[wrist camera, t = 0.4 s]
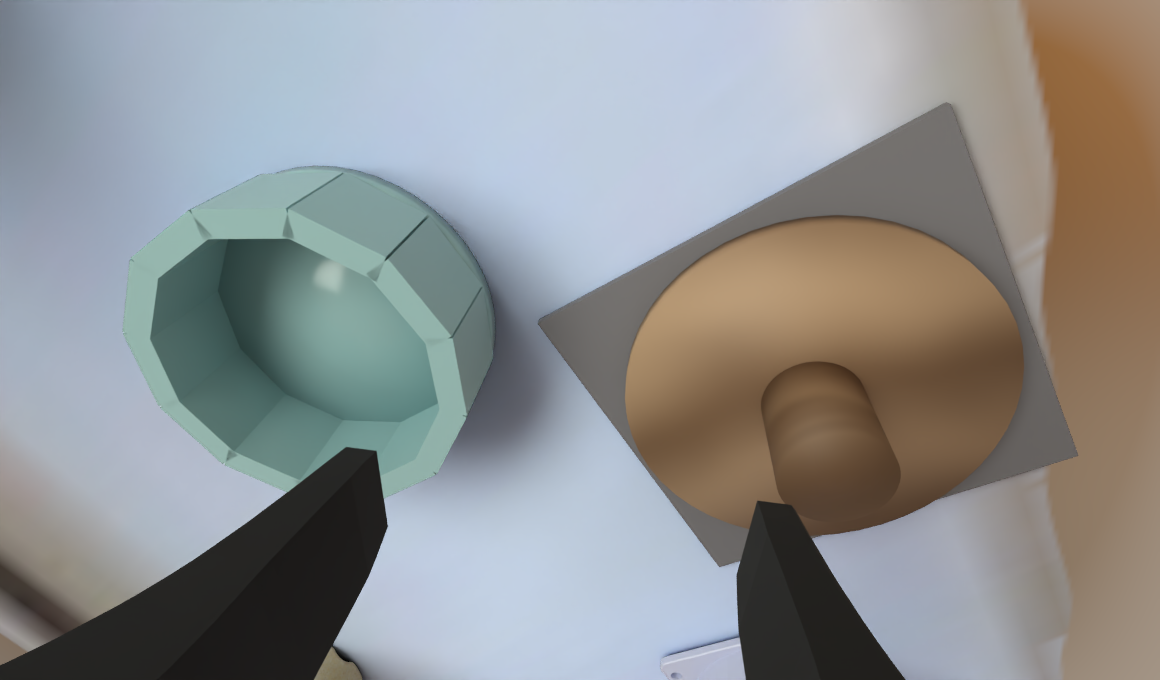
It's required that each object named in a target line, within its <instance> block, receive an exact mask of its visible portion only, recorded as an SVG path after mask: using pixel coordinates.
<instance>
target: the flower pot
mask: <svg viewBox="0 0 1160 680" xmlns="http://www.w3.org/2000/svg"><path fill="white" fill-rule="evenodd" d="M314 680H362V676H361V674H360V672H359V670H358V668H357V667H356V665H355V664H354V663H353V662H345V661H343V660H342V659H341V658H340V657H339V656H338V655H337V654H336V652H335V650H334V648H333V647H331V649H330V651H329V652H328V654H327V656H326V658H325V660H324V662H323V664H322V666H321V667H320V669H319V671H318V673H317V675H316V677H315V679H314Z"/></svg>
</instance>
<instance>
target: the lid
mask: <svg viewBox="0 0 1160 680" xmlns="http://www.w3.org/2000/svg"><path fill="white" fill-rule="evenodd" d="M1023 374H1024V357H1023V345H1022V341H1021V337H1020V333H1019V330H1018V326H1017V323H1016V321H1015V319H1014V317H1013V315H1012V313H1011V310H1010V308H1009V306H1008V304H1007V302H1006V301H1005V300H1004V298H1003V297H1002V296H1001V294H1000V293H999V292H998V290H997V289H996V288H995V286H994V285H993V284H992V283H991V282H990V281H989V280H988V279H987V278H986V277H985V276H984V275H983V274H982V273H981V272H980V271H979V270H978V269H977V268H976V267H975V266H974V265H973V264H972V263H971V262H970V261H969V260H968V259H967V258H966V257H965V256H963V255H962V254H961V253H959V252H958V251H956V250H955V249H953V248H952V247H950V246H949V245H947V244H946V243H944V242H943V241H941V240H939V239H937V238H935V237H933V236H931V235H929V234H927V233H924V232H922V231H920V230H918V229H915V228H912V227H909V226H905V225H902V224H899V223H896V222H893V221H887V220H882V219H876V218H870V217H865V216H845V215H829V216H815V217H804V218H799V219H794V220H788V221H783V222H778V223H775V224H771V225H768V226H765V227H762V228H759V229H756V230H752V231H750V232H747V233H745V234H743V235H741V236H738V237H736V238H734V239H732V240H729V241H727V242H725V243H723V244H722V245H720V246H718V247H717V248H715V249H713V250H711V251H710V252H708V253H706V254H705V255H703V256H702V257H700V258H699V259H698V260H696V261H695V262H694V263H692V264H691V265H690V266H689V267H687V268H686V269H685V270H683V271H682V272H681V273H680V274H679V275H678V276H677V277H676V278H675V279H674V280H673V281H672V282H671V283H670V284H669V285H668V286H667V287H666V288H665V289H664V290H663V292H662V293H661V294H660V295H659V297H658V298H657V299H656V301H655V302H654V303H653V305H652V306H651V307H650V309H649V311H648V312H647V314H646V316H645V318H644V319H643V321H642V323H641V325H640V327H639V329H638V331H637V334H636V337H635V339H634V342H633V345H632V347H631V352H630V357H629V361H628V366H627V375H626V388H625V404H626V413H627V419H628V423H629V427H630V430H631V434H632V437H633V439H634V441H635V444H636V446H637V448H638V450H639V452H640V454H641V456H642V457H643V459H644V460H645V462H646V463H647V465H648V466H649V468H650V469H651V470H652V471H653V473H654V474H655V475H656V476H657V477H658V478H659V480H660V481H661V482H662V483H663V484H664V485H665V486H667V487H668V488H669V489H670V490H671V491H672V492H673V493H674V494H675V495H677V496H678V497H680V498H681V499H683V500H684V501H685V502H687V503H688V504H690V505H691V506H693V507H695V508H696V509H698V510H700V511H702V512H704V513H706V514H708V515H710V516H712V517H714V518H717V519H719V520H722V521H724V522H727V523H729V524H733V525H736V526H739V527H743V528H746V529H749V528H750V525H751V521H752V517H753V514H754V510H755V507H756V503H757V501H765V502H773V503H780V504H788V505H792V506H793V508H794V509H795V510H796V512H797V514H798V515H799V517H800V519H801V521H802V523H803V524H804V526H805V528H806V530H807V531H808V533H809V535H810V536H815V535H828V534H838V533H844V532H850V531H856V530H861V529H865V528H869V527H873V526H877V525H881V524H884V523H886V522H889V521H892V520H895V519H898V518H900V517H903V516H905V515H908V514H910V513H912V512H914V511H916V510H918V509H920V508H923V507H925V506H926V505H928V504H930V503H931V502H933V501H935V500H937V499H938V498H940V497H942V496H943V495H945V494H946V493H948V492H949V491H950V490H952V489H953V488H954V487H956V486H957V485H959V484H960V483H961V482H963V481H964V480H965V479H966V478H967V477H968V476H969V475H970V474H971V473H972V472H974V471H975V470H976V469H977V468H978V467H979V466H980V465H981V464H982V463H983V461H984V460H985V459H986V458H987V457H988V456H989V454H990V453H991V452H992V451H993V450H994V448H995V447H996V446H997V444H998V442H999V441H1000V439H1001V438H1002V436H1003V435H1004V433H1005V432H1006V430H1007V428H1008V426H1009V424H1010V422H1011V419H1012V417H1013V415H1014V413H1015V411H1016V408H1017V404H1018V401H1019V397H1020V394H1021V390H1022V384H1023Z"/></svg>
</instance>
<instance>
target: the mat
mask: <svg viewBox="0 0 1160 680" xmlns="http://www.w3.org/2000/svg"><path fill="white" fill-rule="evenodd" d="M829 215H845V216H865V217H870V218H876V219H882V220H887V221H893V222H896V223H899V224H902V225H905V226H909V227H912V228H915V229H918V230H920V231H922V232H924V233H927V234H929V235H931V236H933V237H935V238H937V239H939V240H941V241H943V242H944V243H946V244H947V245H949V246H950V247H952V248H953V249H955V250H956V251H958V252H959V253H961V254H962V255H963V256H965V257H966V258H967V259H968V260H969V261H970V262H971V263H972V264H973V265H974V266H975V267H976V268H977V269H978V270H979V271H980V272H981V273H982V274H983V275H984V276H985V277H986V278H987V279H988V280H989V281H990V282H991V283H992V284H993V285H994V286H995V288H996V289H997V290H998V292H999V293H1000V294H1001V296H1002V297H1003V298H1004V300H1005V301H1006V302H1007V304H1008V306H1009V308H1010V310H1011V313H1012V315H1013V317H1014V319H1015V321H1016V323H1017V326H1018V330H1019V333H1020V337H1021V341H1022V345H1023V357H1024V374H1023V384H1022V390H1021V394H1020V397H1019V401H1018V404H1017V408H1016V411H1015V413H1014V415H1013V417H1012V419H1011V422H1010V424H1009V426H1008V428H1007V430H1006V432H1005V433H1004V435H1003V436H1002V438H1001V439H1000V441H999V442H998V444H997V446H996V447H995V448H994V450H993V451H992V452H991V453H990V454H989V456H988V457H987V458H986V459H985V460H984V461H983V463H982V464H981V465H980V466H979V467H978V468H977V469H976V470H975V471H974V472H972V473H971V474H970V475H969V476H968V477H967V478H966V479H965V480H964V481H963V482H961V483H960V484H959V485H957V486H956V487H954V488H953V489H952V490H950V491H949V492H948V493H946V494H945V495H943V496H942V497H940V498H938V499H941V498H944V497H947V496H950V495H953V494H957V493H960V492H963V491H966V490H970V489H973V488H976V487H979V486H982V485H986V484H989V483H992V482H995V481H999V480H1002V479H1005V478H1008V477H1011V476H1015V475H1018V474H1021V473H1024V472H1028V471H1031V470H1034V469H1037V468H1040V467H1044V466H1047V465H1050V464H1053V463H1057V462H1060V461H1063V460H1066V459H1069V458H1073V457H1076V456H1078V453H1077V450H1076V448H1075V445H1074V442H1073V439H1072V437H1071V434H1070V431H1069V428H1068V426H1067V423H1066V420H1065V418H1064V415H1063V412H1062V409H1061V406H1060V404H1059V401H1058V398H1057V395H1056V393H1055V390H1054V387H1053V384H1052V382H1051V379H1050V376H1049V373H1048V371H1047V368H1046V365H1045V362H1044V360H1043V357H1042V354H1041V351H1040V349H1039V346H1038V343H1037V340H1036V338H1035V335H1034V332H1033V329H1032V327H1031V324H1030V321H1029V318H1028V316H1027V313H1026V310H1025V307H1024V305H1023V302H1022V299H1021V296H1020V294H1019V291H1018V288H1017V285H1016V283H1015V280H1014V277H1013V274H1012V272H1011V269H1010V266H1009V263H1008V261H1007V258H1006V255H1005V252H1004V250H1003V247H1002V244H1001V241H1000V239H999V236H998V233H997V230H996V228H995V225H994V222H993V219H992V217H991V214H990V211H989V208H988V206H987V203H986V200H985V197H984V195H983V192H982V189H981V186H980V184H979V181H978V178H977V175H976V173H975V170H974V167H973V164H972V162H971V159H970V156H969V153H968V151H967V148H966V145H965V142H964V140H963V137H962V134H961V131H960V129H959V126H958V123H957V120H956V118H955V115H954V112H953V109H952V107H951V104H949V103H947V102H946V103H944V104H942V105H940V106H938V107H937V108H935V109H933V110H931V111H929V112H927V113H925V114H923V115H922V116H920V117H918V118H916V119H914V120H912V121H910V122H908V123H907V124H905V125H903V126H901V127H899V128H897V129H895V130H893V131H892V132H890V133H888V134H886V135H884V136H882V137H880V138H878V139H877V140H875V141H873V142H871V143H869V144H867V145H865V146H863V147H862V148H860V149H858V150H856V151H854V152H852V153H850V154H848V155H847V156H845V157H843V158H841V159H839V160H837V161H835V162H833V163H832V164H830V165H828V166H826V167H824V168H822V169H820V170H818V171H817V172H815V173H813V174H811V175H809V176H807V177H805V178H804V179H802V180H800V181H798V182H796V183H794V184H792V185H790V186H789V187H787V188H785V189H783V190H781V191H779V192H777V193H775V194H774V195H772V196H770V197H768V198H766V199H764V200H762V201H760V202H759V203H757V204H755V205H753V206H751V207H749V208H747V209H745V210H744V211H742V212H740V213H738V214H736V215H734V216H732V217H730V218H729V219H727V220H725V221H723V222H721V223H719V224H717V225H715V226H714V227H712V228H710V229H708V230H706V231H704V232H702V233H700V234H699V235H697V236H695V237H693V238H691V239H689V240H687V241H685V242H684V243H682V244H680V245H678V246H676V247H674V248H672V249H670V250H669V251H667V252H665V253H663V254H661V255H659V256H657V257H656V258H654V259H652V260H650V261H648V262H646V263H644V264H642V265H641V266H639V267H637V268H635V269H633V270H631V271H629V272H627V273H626V274H624V275H622V276H620V277H618V278H616V279H614V280H612V281H611V282H609V283H607V284H605V285H603V286H601V287H599V288H597V289H596V290H594V291H592V292H590V293H588V294H586V295H584V296H582V297H581V298H579V299H577V300H575V301H573V302H571V303H569V304H567V305H566V306H564V307H562V308H560V309H558V310H556V311H554V312H552V313H551V314H549V315H547V316H545V317H543V318H541V319H539V322H538V325H539V326H540V327H541V329H542V330H543V331H544V333H545V334H546V336H547V337H548V338H549V340H550V341H551V342H552V344H553V345H554V346H555V348H556V349H557V350H558V352H559V353H560V354H561V356H562V357H563V358H564V360H565V361H566V362H567V364H568V365H569V366H570V368H571V369H572V370H573V372H574V373H575V374H576V376H577V377H578V378H579V380H580V381H581V382H582V384H583V385H584V386H585V388H586V389H587V390H588V392H589V393H590V394H591V396H592V397H593V398H594V400H595V401H596V402H597V404H598V405H599V407H600V408H601V409H602V411H603V412H604V413H605V415H606V416H607V417H608V419H609V420H610V421H611V423H612V424H613V425H614V427H615V428H616V429H617V431H618V432H619V433H620V435H621V436H622V437H623V439H624V440H625V441H626V443H627V444H628V445H629V447H630V448H631V449H632V451H633V452H634V453H635V455H636V456H637V457H638V459H639V460H640V461H641V463H642V464H643V465H644V467H645V468H646V469H647V471H648V472H649V473H650V475H651V476H652V478H653V479H654V480H655V482H656V483H657V484H658V486H659V487H660V488H661V490H662V491H663V492H664V494H665V495H666V496H667V498H668V499H669V500H670V502H671V503H672V504H673V506H674V507H675V508H676V510H677V511H678V512H679V514H680V515H681V516H682V518H683V519H684V520H685V522H686V523H687V524H688V526H689V527H690V528H691V530H692V531H693V532H694V534H695V535H696V536H697V538H698V539H699V540H700V542H701V543H702V544H703V546H704V547H705V548H706V550H707V551H708V553H709V554H710V555H711V557H712V558H713V559H714V561H715V562H716V563H717V565H718V566H719V567H721V566H725V565H728V564H731V563H734V562H738V561H741V558H742V554H743V550H744V547H745V543H746V539H747V536H748V532H749V529H746V528H743V527H739V526H736V525H733V524H729V523H727V522H724V521H722V520H719V519H717V518H714V517H712V516H710V515H708V514H706V513H704V512H702V511H700V510H698V509H696V508H695V507H693V506H691V505H690V504H688V503H687V502H685V501H684V500H683V499H681V498H680V497H678V496H677V495H675V494H674V493H673V492H672V491H671V490H670V489H669V488H668V487H667V486H665V485H664V484H663V483H662V482H661V481H660V480H659V478H658V477H657V476H656V475H655V474H654V473H653V471H652V470H651V469H650V468H649V466H648V465H647V463H646V462H645V460H644V459H643V457H642V456H641V454H640V452H639V450H638V448H637V446H636V444H635V441H634V439H633V437H632V434H631V430H630V427H629V423H628V419H627V413H626V404H625V388H626V375H627V366H628V361H629V357H630V352H631V347H632V345H633V342H634V339H635V337H636V334H637V331H638V329H639V327H640V325H641V323H642V321H643V319H644V318H645V316H646V314H647V312H648V311H649V309H650V307H651V306H652V305H653V303H654V302H655V301H656V299H657V298H658V297H659V295H660V294H661V293H662V292H663V290H664V289H665V288H666V287H667V286H668V285H669V284H670V283H671V282H672V281H673V280H674V279H675V278H676V277H677V276H678V275H679V274H680V273H681V272H682V271H683V270H685V269H686V268H687V267H689V266H690V265H691V264H692V263H694V262H695V261H696V260H698V259H699V258H700V257H702V256H703V255H705V254H706V253H708V252H710V251H711V250H713V249H715V248H717V247H718V246H720V245H722V244H723V243H725V242H727V241H729V240H732V239H734V238H736V237H738V236H741V235H743V234H745V233H747V232H750V231H752V230H756V229H759V228H762V227H765V226H768V225H771V224H775V223H778V222H783V221H788V220H794V219H799V218H804V217H815V216H829ZM818 536H821V535H815V536H810V537H811V538H815V537H818Z"/></svg>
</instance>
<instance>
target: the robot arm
mask: <svg viewBox="0 0 1160 680" xmlns="http://www.w3.org/2000/svg"><path fill="white" fill-rule="evenodd" d="M387 527H388V525H387V518H386V511H385V504H384V498H383V491H382V484H381V477H380V470H379V463H378V457H377V451H374V450H367V449H359V448H352V447H345V448H344V449H343V450H341V451H340V452H339V453H337V454H336V455H335V456H334V457H332V458H331V459H330V460H328V461H327V462H326V463H324V464H323V465H322V466H321V467H319V468H318V469H317V470H315V471H314V472H313V473H312V474H310V475H309V476H308V477H306V478H305V479H304V480H303V481H301V482H300V483H299V484H297V485H296V486H295V487H294V488H292V489H291V490H290V491H288V492H287V493H286V494H285V495H283V496H282V497H281V498H279V499H278V500H277V501H275V502H274V503H273V504H271V505H270V506H269V507H267V508H266V509H265V510H263V511H262V512H261V513H259V514H258V515H257V516H255V517H254V518H253V519H251V520H250V521H249V522H247V523H246V524H245V525H243V526H242V527H240V528H239V529H237V530H236V531H235V532H233V533H232V534H230V535H229V536H227V537H226V538H224V539H223V540H222V541H220V542H219V543H217V544H216V545H214V546H213V547H212V548H210V549H209V550H207V551H206V552H204V553H203V554H201V555H200V556H199V557H197V558H196V559H194V560H193V561H191V562H189V563H188V564H186V565H185V566H183V567H182V568H180V569H179V570H177V571H175V572H174V573H172V574H171V575H169V576H167V577H166V578H164V579H162V580H161V581H159V582H157V583H156V584H154V585H152V586H151V587H149V588H147V589H146V590H144V591H142V592H141V593H139V594H137V595H136V596H134V597H132V598H130V599H129V600H127V601H125V602H123V603H122V604H120V605H118V606H116V607H114V608H112V609H111V610H109V611H107V612H105V613H103V614H101V615H99V616H97V617H96V618H94V619H92V620H90V621H88V622H86V623H84V624H82V625H81V626H79V627H77V628H75V629H73V630H71V631H69V632H67V633H65V634H64V635H62V636H60V637H58V638H56V639H54V640H52V641H50V642H48V643H46V644H44V645H42V646H40V647H38V648H36V649H34V650H32V651H30V652H28V653H25V654H23V655H21V656H19V657H17V658H15V659H13V660H11V661H9V662H7V663H5V664H2V665H0V680H314V679H315V677H316V675H317V673H318V671H319V669H320V667H321V666H322V664H323V662H324V660H325V658H326V656H327V654H328V652H329V651H330V649H331V647H332V645H333V643H334V641H335V639H336V637H337V636H338V634H339V632H340V630H341V628H342V626H343V624H344V622H345V621H346V619H347V617H348V615H349V613H350V611H351V609H352V607H353V605H354V604H355V602H356V600H357V598H358V596H359V594H360V592H361V590H362V588H363V586H364V584H365V582H366V580H367V578H368V577H369V574H370V572H371V569H372V567H373V564H374V562H375V559H376V557H377V554H378V551H379V549H380V546H381V543H382V541H383V538H384V535H385V532H386V530H387ZM737 605H738V627H739V637H738V638H734V639H730V640H727V641H723V642H719V643H715V644H711V645H708V646H704V647H700V648H696V649H692V650H688V651H685V652H681V653H677V654H673V655H669V656H666V657H664V658H662V659H661V662H660V669H661V671H662V672H663V673H664V674H665V676H666V677H667V678H668V679H669V680H905V678H904V677H903V676H902V674H901V673H900V672H899V671H898V669H897V668H896V667H895V665H894V664H893V662H892V661H891V660H890V658H889V657H888V655H887V654H886V653H885V651H884V650H883V649H882V647H881V646H880V644H879V643H878V642H877V640H876V639H875V637H874V636H873V635H872V633H871V632H870V630H869V629H868V627H867V626H866V624H865V623H864V622H863V620H862V619H861V617H860V616H859V614H858V612H857V611H856V609H855V608H854V606H853V605H852V603H851V602H850V600H849V599H848V597H847V596H846V594H845V593H844V591H843V590H842V588H841V587H840V585H839V583H838V582H837V580H836V579H835V577H834V575H833V574H832V572H831V570H830V569H829V567H828V565H827V564H826V562H825V560H824V559H823V557H822V555H821V554H820V552H819V550H818V549H817V547H816V545H815V544H814V542H813V540H812V538H811V537H810V535H809V533H808V531H807V530H806V528H805V526H804V524H803V523H802V521H801V519H800V517H799V515H798V514H797V512H796V510H795V509H794V508H793V506H792V505H788V504H780V503H773V502H765V501H757V503H756V507H755V510H754V514H753V517H752V521H751V525H750V528H749V532H748V536H747V539H746V543H745V547H744V550H743V554H742V558H741V561H740V565H739V568H738V572H737Z"/></svg>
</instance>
